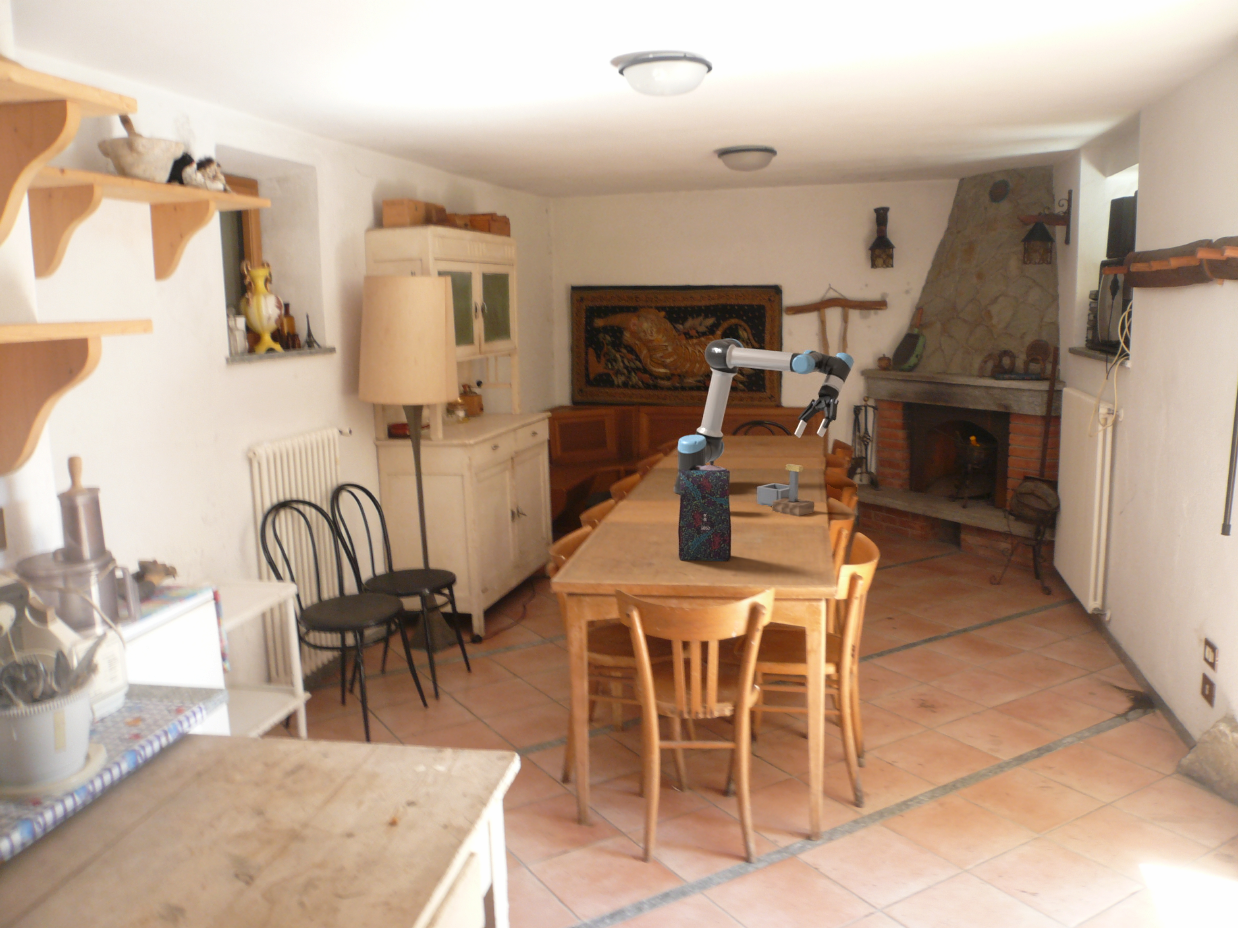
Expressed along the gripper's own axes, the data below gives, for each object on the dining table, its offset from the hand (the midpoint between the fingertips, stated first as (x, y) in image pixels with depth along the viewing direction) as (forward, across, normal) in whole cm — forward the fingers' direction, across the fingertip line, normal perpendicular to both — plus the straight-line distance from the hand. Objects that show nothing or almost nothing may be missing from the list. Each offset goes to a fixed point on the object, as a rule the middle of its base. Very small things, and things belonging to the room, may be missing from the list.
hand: (808, 435), depth 370 cm
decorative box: (+72, -38, +41) cm, 91 cm away
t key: (+29, -1, -8) cm, 30 cm away
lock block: (+29, -1, -8) cm, 30 cm away
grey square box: (+26, +13, -9) cm, 30 cm away
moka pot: (+44, +15, +16) cm, 49 cm away
